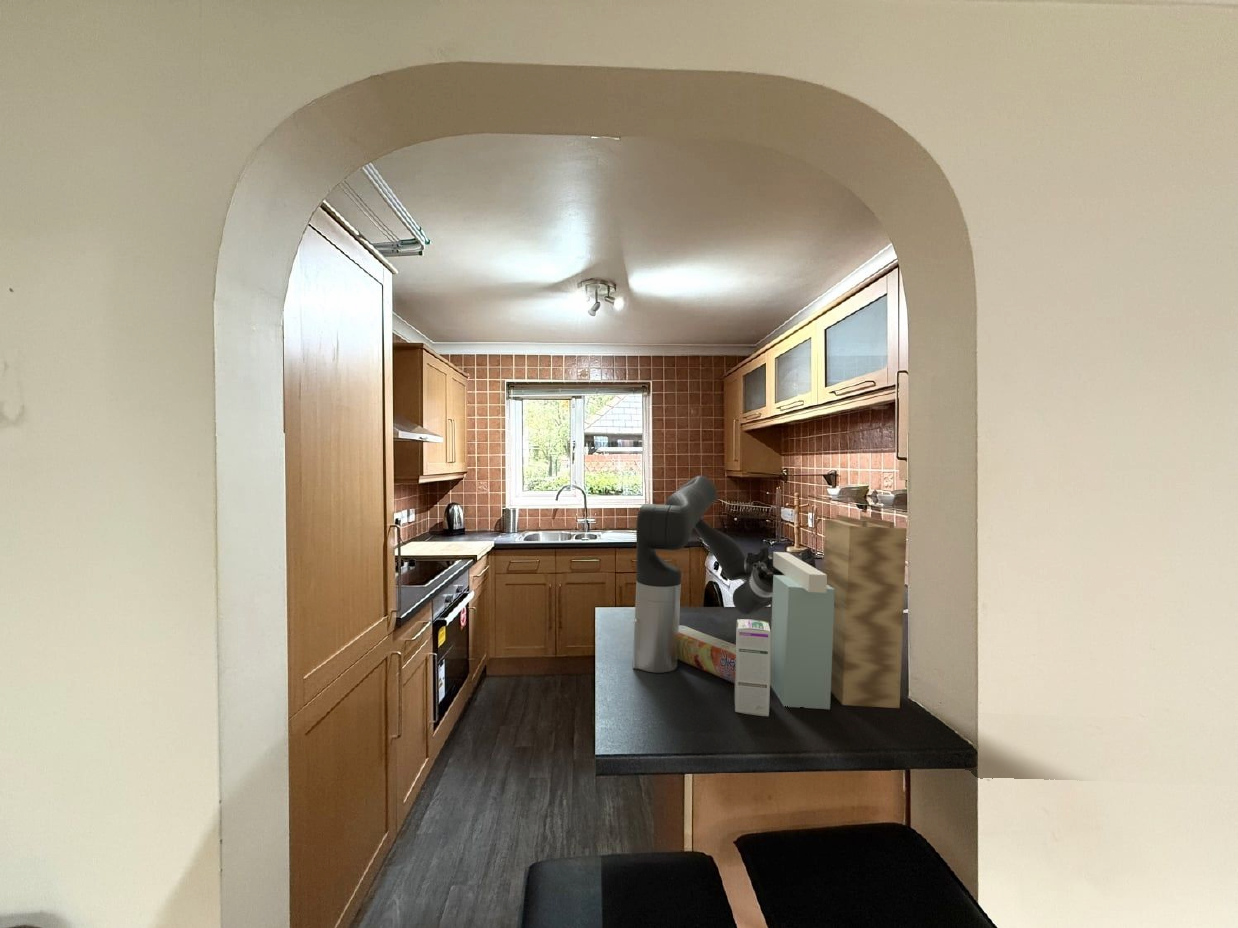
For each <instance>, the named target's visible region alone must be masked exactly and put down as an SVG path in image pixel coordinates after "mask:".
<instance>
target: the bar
mask: <svg viewBox="0 0 1238 928" xmlns="http://www.w3.org/2000/svg"><path fill="white" fill-rule="evenodd" d="M793 555H794V554H791V553H789V552H784V551H783V552H781V551H773V566H774V567H775V568H776V569H778V570H779V571H781V572H782V573H783V574H785V575H786V576H787V577H789V578H790V579H791V580H793V581H794V582H796V583H797V584H798V585H800V586H801V587H802V588H804V589H805V590H806V591H808V592H819V593H826V589H827V575H826V574H824V573H823V571H821V570H820V569H819V570H818V569H817V568H814V567H812V566H810V565H808V564H807V563H805V562H803V561H802V560H800V559H798V558H796V557H795V556H793Z"/></svg>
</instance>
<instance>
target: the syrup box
mask: <svg viewBox="0 0 1238 928" xmlns="http://www.w3.org/2000/svg"><path fill="white" fill-rule="evenodd" d="M736 619H737V618H736ZM735 632H736V634H735V635H736V638H735V645H736V662H735V684H734V711H735V712H736V713H740V714H746V715H752V716H759V717H760V716H761V717H769V715H770V698H771V697H770V696H771V693H770V691H771V689H770V688H771V685H770V647H771V628H770V622H768V621H764V620H758V619H748V618H747V619H746V618H745V619H739V618H738V619H737V620H736V630H735Z"/></svg>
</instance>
